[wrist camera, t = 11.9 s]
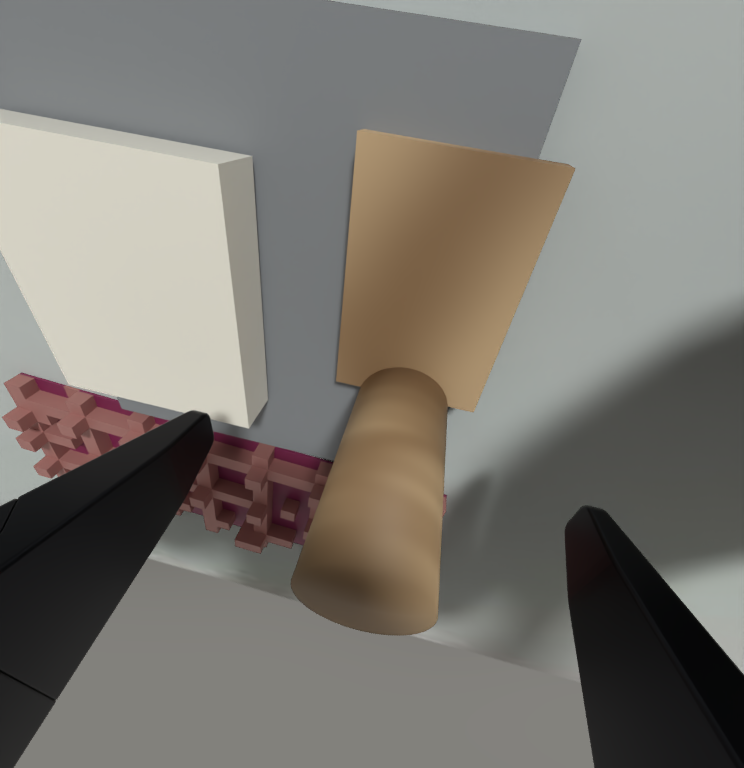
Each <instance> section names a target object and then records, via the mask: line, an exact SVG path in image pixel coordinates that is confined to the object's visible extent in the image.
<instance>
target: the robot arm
mask: <svg viewBox="0 0 744 768" xmlns="http://www.w3.org/2000/svg"><path fill="white" fill-rule="evenodd" d="M213 441H214V433H213V428H212V423H211V419H210V416H209V415H208V414H207V413H204V412H200V411H196V410H191V411H188V412H186V413H184V414H182V415H180V416H178V417H176V418H174V419H172V420H170V421H168V422H166V423H164V424H162V425H160V426H158V427H156V428H154V429H152V430H150V431H148V432H146V433H144V434H142V435H140V436H138V437H136V438H134V439H132V440H130V441H128V442H126V443H125V444H123V445H121V446H119V447H117V448H115V449H113V450H111V451H109V452H107V453H105V454H103V455H101V456H99V457H97V458H95V459H93V460H91V461H89V462H87V463H85V464H83V465H81V466H79V467H77V468H75V469H73V470H71V471H69V472H67V473H65V474H63V475H61V476H59V477H57V478H55V479H53V480H51V481H49V482H47V483H45V484H43V485H41V486H39V487H37V488H35V489H33V490H31V491H29V492H27V493H26V494H24V495H22V496H20V497H19V498H18V499H13V500H11V501H9V502H7V503H5V504H3V505H1V506H0V768H14V766H15V765H16V763H17V762H18V760H19V758H20V757H21V755H22V754H23V752H24V751H25V749H26V747H27V746H28V744H29V743H30V741H31V740H32V738H33V737H34V735H35V733H36V732H37V730H38V729H39V727H40V726H41V724H42V723H43V721H44V719H45V718H46V716H47V715H48V713H49V712H50V710H51V709H52V707H53V705H54V704H55V702H56V701H55V700H56V699H57V698H58V697H59V696H60V694H61V692H62V691H63V689H64V688H65V686H66V685H67V683H68V682H69V680H70V678H71V677H72V675H73V674H74V672H75V671H76V669H77V668H78V666H79V664H80V663H81V661H82V660H83V658H84V657H85V655H86V653H87V652H88V650H89V649H90V647H91V646H92V644H93V642H94V641H95V639H96V638H97V636H98V635H99V633H100V632H101V630H102V629H103V627H104V625H105V624H106V622H107V621H108V619H109V617H110V616H111V614H112V613H113V611H114V610H115V608H116V606H117V605H118V603H119V602H120V600H121V599H122V597H123V596H124V594H125V593H126V591H127V589H128V588H129V586H130V585H131V583H132V582H133V580H134V578H135V577H136V575H137V574H138V572H139V571H140V569H141V568H142V566H143V565H144V563H145V561H146V560H147V558H148V557H149V555H150V554H151V552H152V550H153V549H154V547H155V546H156V544H157V543H158V541H159V540H160V538H161V536H162V535H163V533H164V532H165V530H166V529H167V527H168V526H169V524H170V522H171V521H172V519H173V518H174V516H175V515H176V513H177V511H178V510H179V508H180V507H181V505H182V503H183V502H184V500H185V498H186V496H187V495H188V493H189V491H190V489H191V487H192V485H193V483H194V481H195V479H196V477H197V475H198V473H199V471H200V469H201V467H202V465H203V463H204V461H205V459H206V457H207V455H208V453H209V451H210V449H211V447H212V445H213ZM565 551H566V572H567V591H568V602H569V610H570V616H571V623H572V629H573V635H574V642H575V648H576V654H577V661H578V667H579V673H580V680H581V686H582V692H583V698H584V705H585V711H586V718H587V724H588V730H589V736H590V743H591V748H592V755H593V762H594V768H744V674H743V673H742V672H741V671H740V670H739V668H738V667H737V666H736V665H735V664H734V662H733V661H732V660H731V659H730V658H729V656H728V655H727V654H726V653H725V652H724V651H723V649H722V648H721V647H720V646H719V645H718V643H717V642H716V641H715V640H714V639H713V637H712V636H711V635H710V634H709V633H708V632H707V630H706V629H705V628H704V627H703V626H702V624H701V623H700V622H699V621H698V620H697V619H696V617H695V616H694V615H693V614H692V613H691V611H690V610H689V609H688V608H687V607H686V605H685V604H684V603H683V602H682V601H681V600H680V598H679V597H678V596H677V595H676V594H675V592H674V591H673V590H672V589H671V588H670V586H669V585H668V584H667V583H666V582H665V581H664V579H663V578H662V577H661V576H660V575H659V573H658V572H657V571H656V570H655V569H654V568H653V566H652V565H651V564H650V563H649V562H648V560H647V559H646V558H645V557H644V556H643V554H642V553H641V552H640V551H639V550H638V549H637V547H636V546H635V545H634V544H633V543H632V541H631V540H630V539H629V538H628V537H627V536H626V534H625V533H624V532H623V531H622V530H621V528H620V527H619V526H618V525H617V524H616V522H615V521H614V520H613V519H612V518H611V517H610V515H609V514H608V513H607V512H606V511H605V510H603V509H600V508H597V507H592V506H588V505H585V506H582V507H581V508H580V509H579V510H578V511H577V512H576V514H575V515H574V516H573V517H572V518H571V519H570V520H569V522H568V523H567V525H566V527H565Z"/></svg>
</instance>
